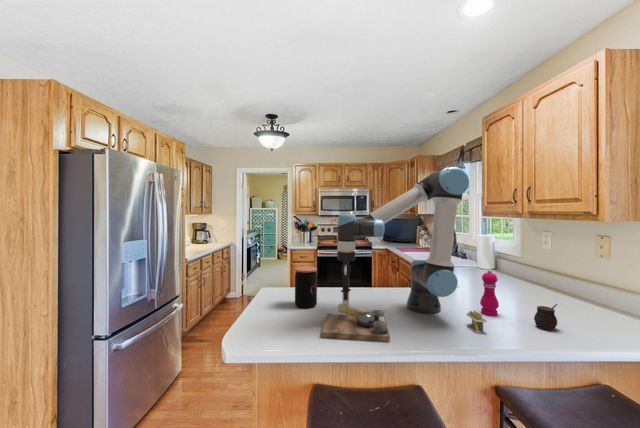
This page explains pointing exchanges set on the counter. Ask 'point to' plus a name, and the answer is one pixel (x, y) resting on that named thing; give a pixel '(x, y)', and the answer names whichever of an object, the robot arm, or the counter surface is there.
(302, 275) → the coffee jar
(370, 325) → the ball-head mallet
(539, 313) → the mate gourd
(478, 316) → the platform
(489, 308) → the pepper mill
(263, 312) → the counter surface
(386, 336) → the instrument base
